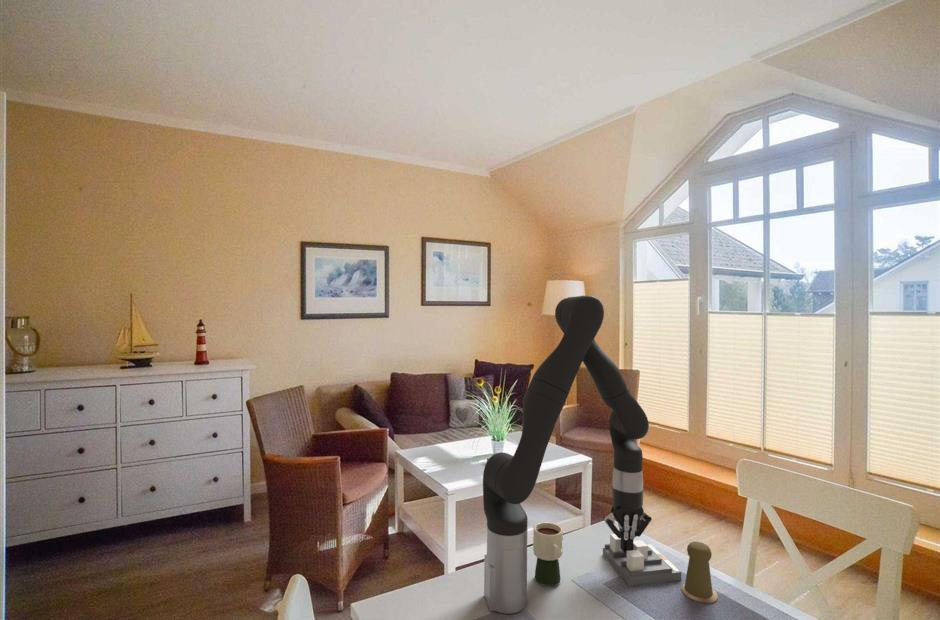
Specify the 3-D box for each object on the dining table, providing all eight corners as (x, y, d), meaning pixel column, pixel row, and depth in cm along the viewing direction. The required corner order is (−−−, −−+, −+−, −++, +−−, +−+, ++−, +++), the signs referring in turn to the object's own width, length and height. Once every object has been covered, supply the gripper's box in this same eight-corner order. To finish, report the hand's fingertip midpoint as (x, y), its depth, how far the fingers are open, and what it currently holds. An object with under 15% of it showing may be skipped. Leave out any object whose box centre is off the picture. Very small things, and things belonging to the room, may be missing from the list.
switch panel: (629, 585, 114) (629, 573, 114) (602, 555, 128) (602, 544, 128) (681, 580, 117) (681, 568, 117) (649, 550, 130) (650, 540, 130)
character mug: (570, 592, 111) (571, 538, 111) (541, 596, 110) (542, 540, 109) (552, 567, 122) (553, 517, 122) (526, 570, 120) (527, 519, 120)
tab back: (615, 554, 124) (615, 539, 124) (609, 548, 127) (610, 533, 127) (625, 553, 125) (626, 538, 125) (620, 547, 128) (620, 533, 128)
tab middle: (636, 562, 120) (636, 546, 120) (630, 556, 123) (630, 541, 123) (647, 561, 121) (647, 545, 121) (641, 555, 124) (641, 540, 124)
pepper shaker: (716, 599, 108) (717, 552, 108) (688, 596, 109) (689, 549, 109) (708, 584, 114) (708, 539, 114) (681, 581, 115) (682, 537, 115)
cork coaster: (695, 604, 107) (695, 602, 107) (675, 585, 114) (675, 583, 114) (725, 601, 108) (725, 599, 108) (703, 582, 116) (703, 580, 116)
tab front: (632, 573, 115) (632, 557, 115) (626, 566, 118) (626, 550, 118) (643, 572, 116) (644, 556, 116) (637, 565, 119) (637, 549, 119)
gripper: (643, 478, 126) (642, 542, 127) (597, 481, 124) (596, 547, 124) (659, 489, 119) (658, 557, 119) (610, 493, 116) (609, 562, 117)
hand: (626, 552), depth 122 cm, fingers closed
